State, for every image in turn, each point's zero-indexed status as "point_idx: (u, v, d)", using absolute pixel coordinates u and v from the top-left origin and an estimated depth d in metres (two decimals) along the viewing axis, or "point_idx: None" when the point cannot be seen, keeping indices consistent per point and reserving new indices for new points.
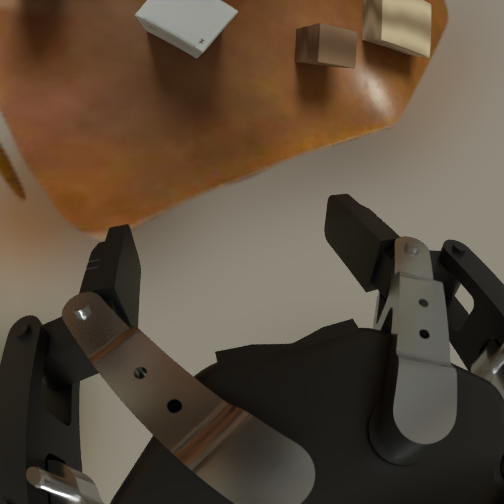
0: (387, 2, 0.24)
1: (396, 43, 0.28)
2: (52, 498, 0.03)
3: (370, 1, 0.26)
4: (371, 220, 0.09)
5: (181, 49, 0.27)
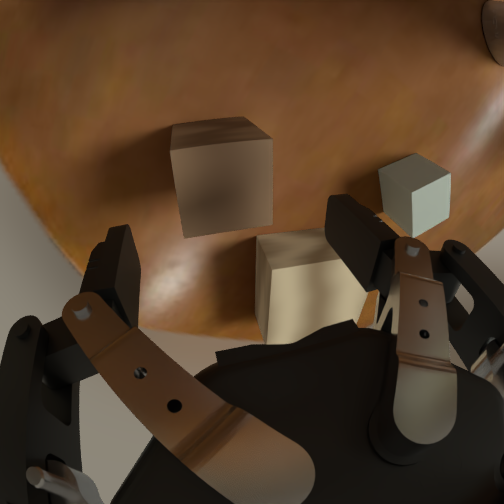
0: (345, 265, 0.23)
1: (272, 296, 0.23)
2: (52, 498, 0.03)
3: None
4: (371, 220, 0.09)
5: None
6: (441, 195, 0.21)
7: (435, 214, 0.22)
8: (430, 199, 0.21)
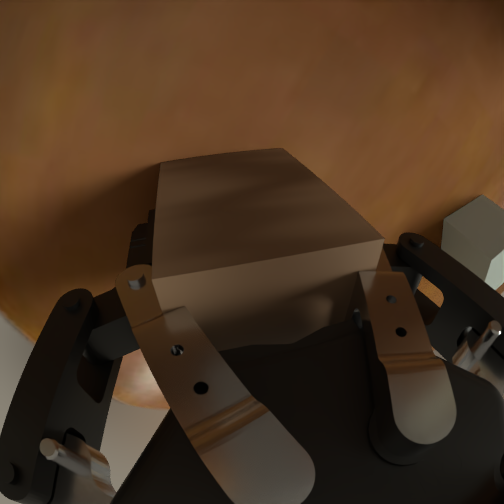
0: None
1: None
2: (60, 470, 0.03)
3: None
4: None
5: None
6: None
7: (502, 276, 0.15)
8: (503, 263, 0.14)
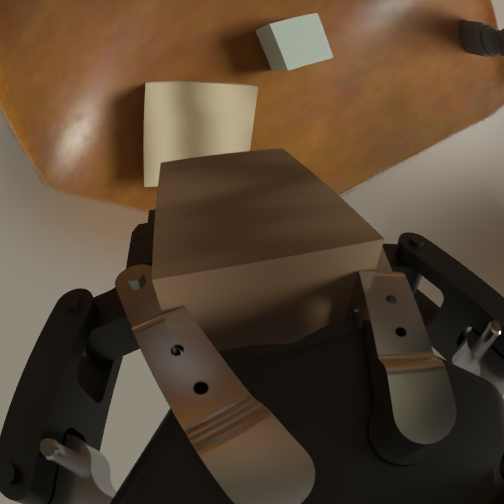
0: (218, 92, 0.23)
1: (146, 112, 0.22)
2: (60, 470, 0.03)
3: (217, 82, 0.24)
4: None
5: None
6: (312, 32, 0.21)
7: (311, 50, 0.22)
8: (297, 33, 0.20)
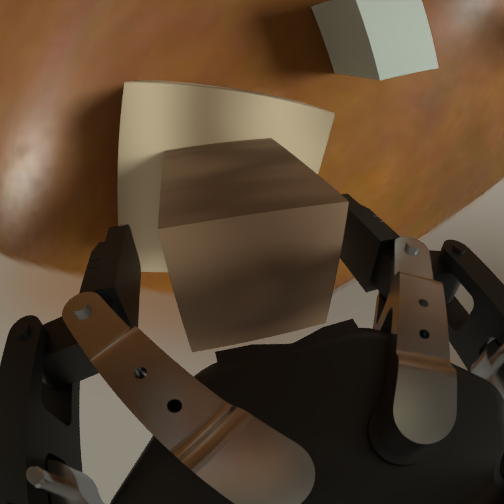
0: (265, 113, 0.12)
1: (122, 143, 0.11)
2: (52, 498, 0.03)
3: (257, 93, 0.14)
4: (371, 220, 0.09)
5: None
6: (414, 21, 0.10)
7: (412, 50, 0.11)
8: (393, 19, 0.10)
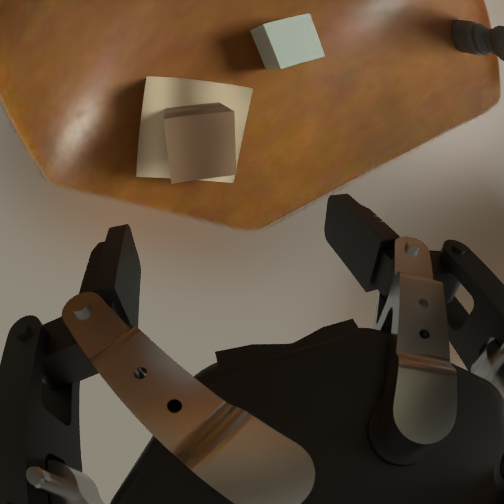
0: (214, 90, 0.24)
1: (144, 105, 0.23)
2: (52, 498, 0.03)
3: None
4: (371, 220, 0.09)
5: None
6: (304, 31, 0.21)
7: (303, 49, 0.23)
8: (289, 33, 0.21)
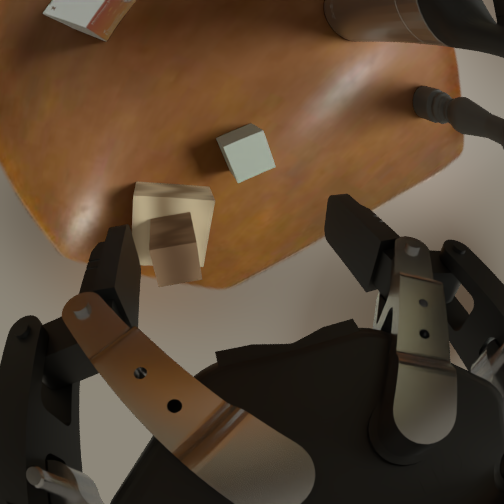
0: (185, 204, 0.34)
1: (133, 216, 0.33)
2: (52, 498, 0.03)
3: (186, 189, 0.36)
4: (371, 220, 0.09)
5: None
6: (258, 148, 0.33)
7: (256, 164, 0.34)
8: (245, 152, 0.32)
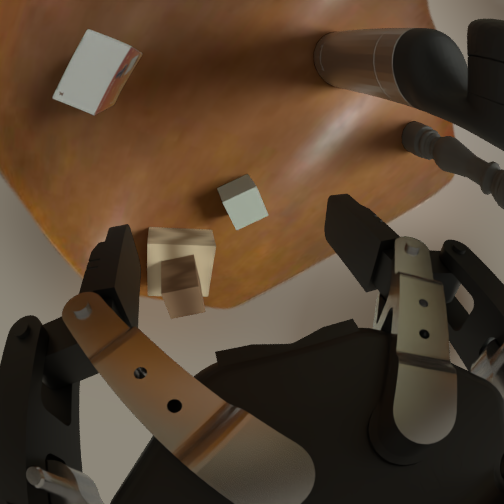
0: (191, 249, 0.42)
1: (148, 259, 0.41)
2: (52, 498, 0.03)
3: (192, 234, 0.44)
4: (371, 220, 0.09)
5: None
6: (253, 201, 0.39)
7: (252, 214, 0.41)
8: (241, 205, 0.39)
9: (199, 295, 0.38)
